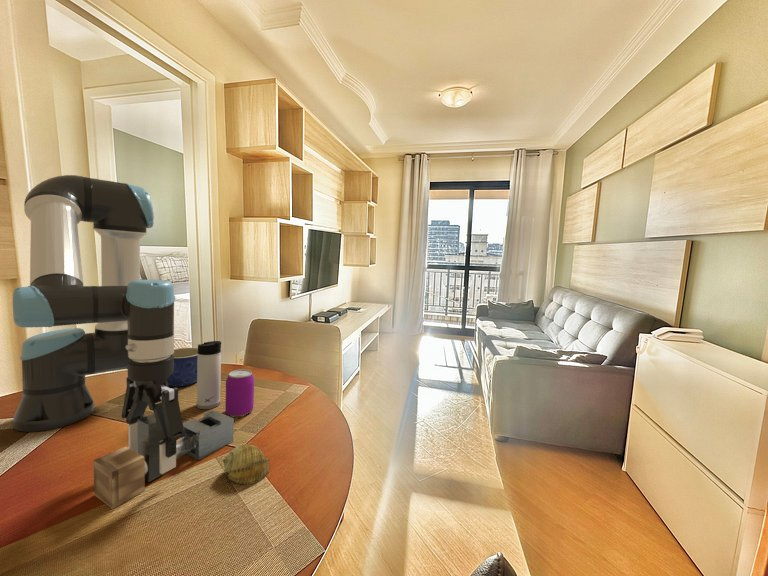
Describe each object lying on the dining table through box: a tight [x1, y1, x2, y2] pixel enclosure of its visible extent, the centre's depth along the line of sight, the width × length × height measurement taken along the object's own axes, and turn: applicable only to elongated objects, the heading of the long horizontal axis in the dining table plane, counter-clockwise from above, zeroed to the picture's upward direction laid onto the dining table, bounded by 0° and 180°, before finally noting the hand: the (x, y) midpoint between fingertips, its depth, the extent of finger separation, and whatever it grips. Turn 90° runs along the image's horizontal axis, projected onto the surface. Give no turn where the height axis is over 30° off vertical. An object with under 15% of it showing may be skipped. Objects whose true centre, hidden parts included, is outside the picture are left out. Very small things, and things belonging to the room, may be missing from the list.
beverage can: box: [225, 368, 255, 418], centre depth 94 cm, size 8×8×12 cm
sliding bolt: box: [138, 413, 196, 483], centre depth 66 cm, size 16×4×12 cm, turn 154°
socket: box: [93, 446, 146, 510], centre depth 60 cm, size 5×7×7 cm
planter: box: [167, 347, 198, 387], centre depth 112 cm, size 12×12×11 cm
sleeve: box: [180, 410, 235, 461], centre depth 77 cm, size 9×6×7 cm
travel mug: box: [196, 340, 222, 410], centre depth 97 cm, size 6×7×20 cm
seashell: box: [222, 443, 270, 485], centre depth 68 cm, size 10×7×8 cm
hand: (151, 460), depth 66 cm, fingers open, 10 cm apart
